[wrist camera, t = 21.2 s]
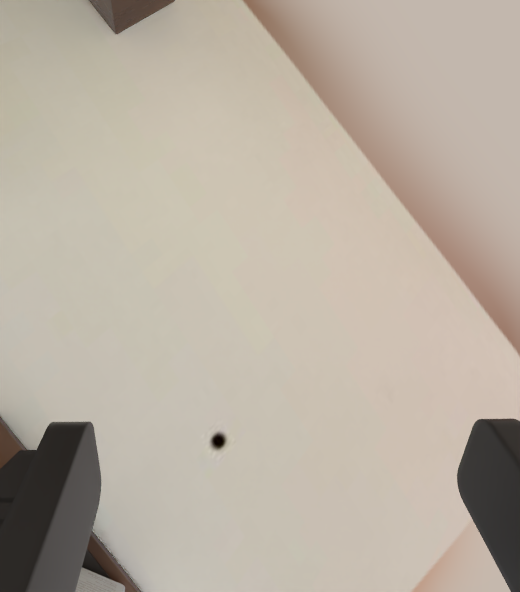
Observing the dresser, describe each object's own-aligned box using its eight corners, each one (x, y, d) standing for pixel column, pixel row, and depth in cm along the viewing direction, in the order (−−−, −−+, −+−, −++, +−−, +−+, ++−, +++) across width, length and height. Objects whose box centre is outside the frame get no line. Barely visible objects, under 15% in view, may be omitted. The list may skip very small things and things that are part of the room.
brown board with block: (146, 598, 28) (144, 634, 24) (27, 709, 26) (5, 766, 22) (-3, 413, 27) (-28, 421, 24) (-135, 511, 25) (-184, 536, 22)
